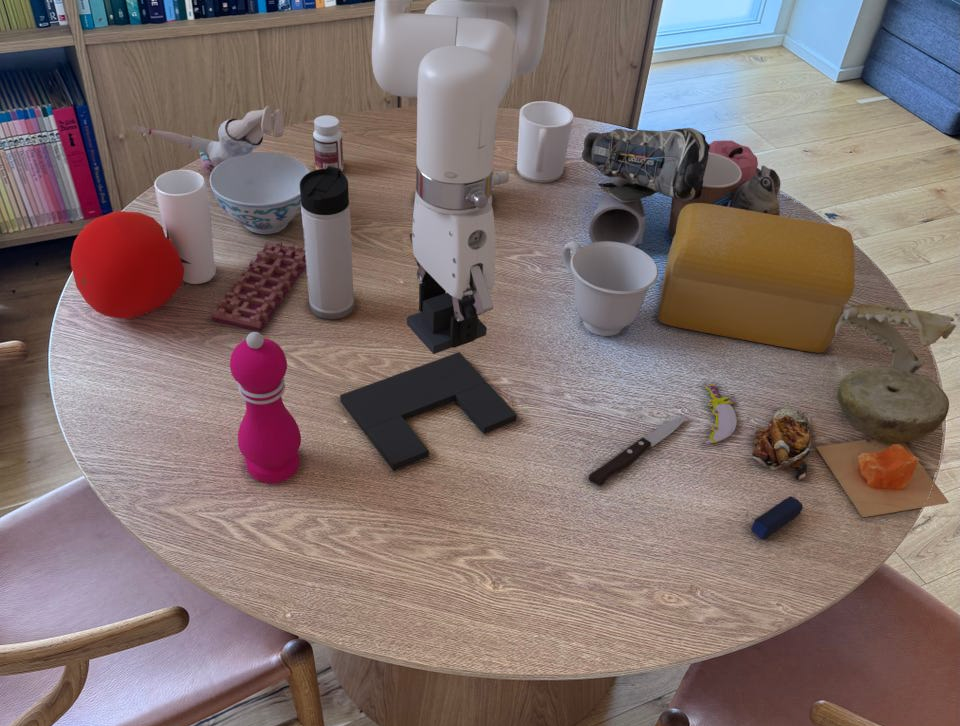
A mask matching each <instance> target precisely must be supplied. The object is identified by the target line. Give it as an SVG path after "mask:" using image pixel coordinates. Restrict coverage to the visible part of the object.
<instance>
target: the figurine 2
mask: <svg viewBox="0 0 960 726" xmlns="http://www.w3.org/2000/svg"><path fill="white" fill-rule="evenodd" d="M780 190H781V179H780V176H779V175H778V173H777V172H776V170H774V169H772V168H768V167H767V166H766V165H761V167H760V168H759V167H757V168H756V174H755V176H754V177H753V178H752V179H751V181H750V180H749V181H744V182H742V183H741V184H739V185H738V186H737V187H736V189H735V190H734V192H733V194H732V197H731V200H730V201H729V207H732V208H737V209H743V210H749V211H755V212H761V213H766V214H772V215H778V216H781V210H780V202H779V199H778V195H779V192H780Z"/></svg>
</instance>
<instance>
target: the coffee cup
mask: <svg viewBox="0 0 960 726" xmlns="http://www.w3.org/2000/svg"><path fill="white" fill-rule="evenodd" d="M708 153H709V152H708ZM738 176H739V177H738ZM741 176H742V173H741V169H740V168H739V166H738V165H737V164H736V163H735V162H733V161H732V160H730V159H728V158H726V157H724V156H721V155H718V154H714V153H709V155H708V161H707V165H706V169H705V173H704V177H703V186H702V190H701V196H700V197H699V198H697V199H693V200H691V201H683V200H678V199H676V198H673V197H671V203H670V204H671V205H670V212H669V221H668V234H669V237H670V238H671V240H672V241H673V238H674V236H675V234H676V227H677V221H678V217H679V214H680V212H681V210H682V209H683V208H684V207H685V205H688V204H692V203H706V204H714V205H720V206H726V207H729V204H730V202H731V200H730V198H731V196H732V192H733V191H734V189H735V187H736V184H737V182H738V181H739V180H740V179H741ZM673 210H674V211H673Z"/></svg>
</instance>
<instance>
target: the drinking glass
mask: <svg viewBox="0 0 960 726" xmlns="http://www.w3.org/2000/svg"><path fill="white" fill-rule="evenodd" d="M153 184H154V185H153V186H154V191H155V198H156V203H157V207H158V212H159V215H160V218H161V222H162V225H163V229H164V232H165V235H167V229H168V235H169V240H170V241H171V242H172V244H173V245H174V247H175V248H176V250H177V251H178V254H179V256H180V258H181V259H183V260H185V261H187V262H189V263H191V264H188V263H182V264H183V267H184V275H183V281H184V282H185V284H186V283H187V284H190V285H202V284H205V283H207V282H210V281H211V280H212V279H213V278H214V277H215V275H216V273H217V272H216V271H217V269H216V263H215V254H214V242H213V228H212V213H211V204H210V203H211V202H210V197H209V192H208V188H207V184H206V179H205V177H204V176H203V175H202V174H201V173H200V172H197V171H195V170H192V169H191V170H190V169H173V170H169V171H166V172H164V173H162V174H160V175H159V176H158V177H156V179H155V180H154V183H153ZM183 281H182V282H183Z"/></svg>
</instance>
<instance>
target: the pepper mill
mask: <svg viewBox="0 0 960 726" xmlns="http://www.w3.org/2000/svg"><path fill="white" fill-rule="evenodd" d="M229 369H230V373H231V376H232V378H233V379H234V380H235V381H236V383H237V387H238V393H239V396H240V397H241V398H242V399H243V400H244V401H245V413H244V416H243V417H242V419H241V422H240V424H239V427H238V432H237V447H238V450H239V453H241V455H242V457H244V460H245V466H246V470H247V473H248V474H249V476H250V477H252V478H253V479H254V480H256V481H258V482H260V483H265V484H277V483H282V482H285V481H287V480H289V479H290V478H292V477H293V476H294V475H295V474H296V473H297V471H298V470H299V467H300V454H299V449H300V447H301V445H302V444H301V443H302V435H301V431H300V428H299V425H298V423H297V421H296V420H295V418H294V416H293V415H292V414H291V412H290V411H289V410H288V409H287V408H286V406H285V404H284V402H283V398H282V396H283V395H284V393H285V391H286V383H285V376H286V372H287V369H288V361H287V356H286V354H285V351H284V350H283V349H282V347H281V346H280V345H279V344H278V343H277V342H275V341H273V340H272V339H270V338H267V337H264V336H263V335H262V334H261V333H260V332H259V331H252V332H249V333H248V334H247V336H246V338H245V339H244V340H242V341H240V342H239V343H238V344H237V345H235V347H234V348H233V350H232V352H231V355H230V358H229Z"/></svg>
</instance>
